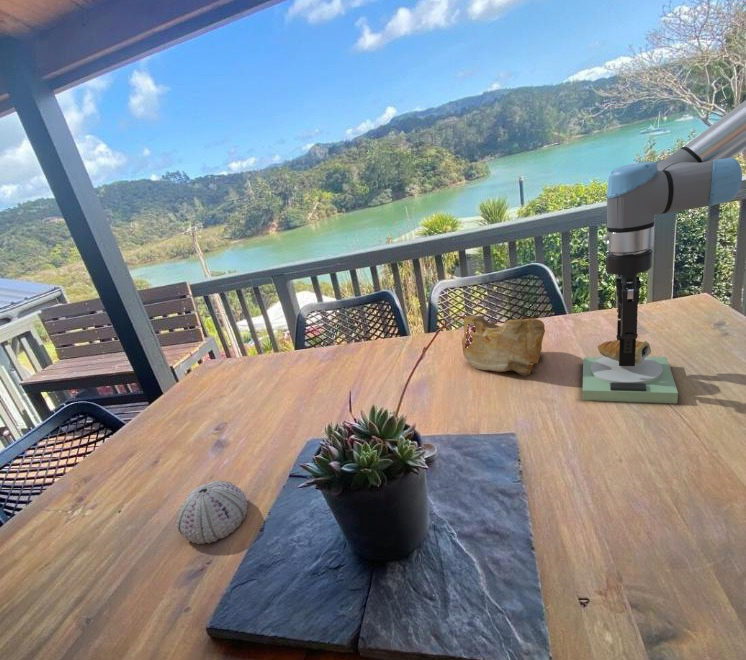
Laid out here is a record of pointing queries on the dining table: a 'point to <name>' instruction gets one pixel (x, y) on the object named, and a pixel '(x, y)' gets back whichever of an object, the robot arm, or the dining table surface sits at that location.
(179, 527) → the sea urchin shell
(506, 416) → the dining table surface
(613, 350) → the pastry
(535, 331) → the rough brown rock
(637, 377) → the scale
